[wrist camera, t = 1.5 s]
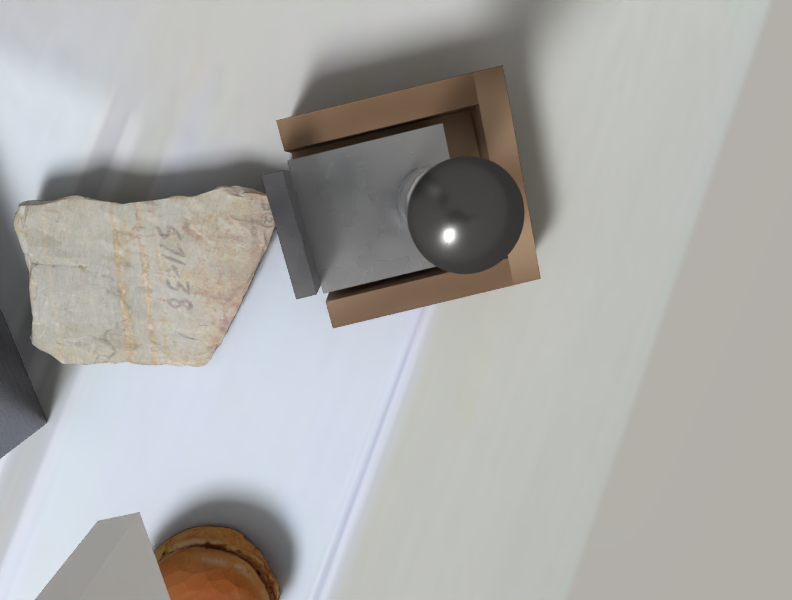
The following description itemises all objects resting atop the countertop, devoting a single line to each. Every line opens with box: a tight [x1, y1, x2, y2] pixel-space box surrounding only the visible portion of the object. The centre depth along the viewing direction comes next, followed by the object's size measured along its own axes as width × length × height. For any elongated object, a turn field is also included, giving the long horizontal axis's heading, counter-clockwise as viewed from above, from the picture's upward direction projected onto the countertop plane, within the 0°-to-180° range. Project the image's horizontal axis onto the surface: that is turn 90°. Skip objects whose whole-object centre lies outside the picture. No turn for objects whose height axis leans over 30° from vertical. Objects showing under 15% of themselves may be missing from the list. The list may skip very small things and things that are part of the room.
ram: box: [261, 123, 525, 299], centre depth 24 cm, size 7×9×14 cm
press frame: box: [276, 65, 541, 328], centre depth 30 cm, size 11×12×4 cm
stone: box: [13, 185, 275, 367], centre depth 32 cm, size 15×11×3 cm
